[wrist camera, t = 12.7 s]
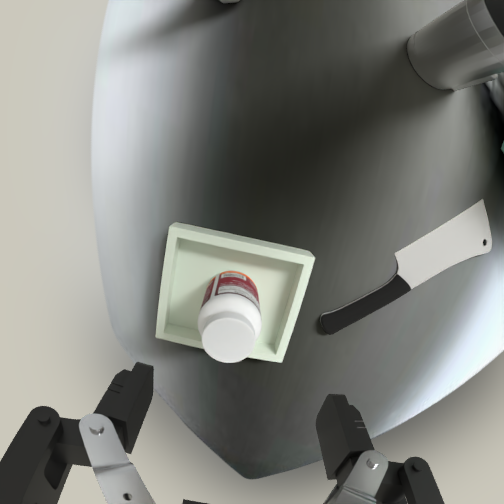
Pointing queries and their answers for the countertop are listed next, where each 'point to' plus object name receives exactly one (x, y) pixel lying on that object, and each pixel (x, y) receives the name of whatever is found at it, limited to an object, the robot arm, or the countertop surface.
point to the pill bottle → (230, 317)
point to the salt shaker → (229, 1)
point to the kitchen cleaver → (420, 264)
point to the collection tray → (224, 259)
